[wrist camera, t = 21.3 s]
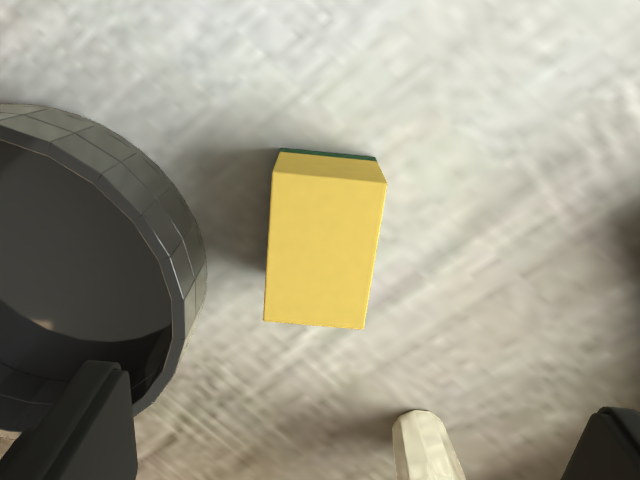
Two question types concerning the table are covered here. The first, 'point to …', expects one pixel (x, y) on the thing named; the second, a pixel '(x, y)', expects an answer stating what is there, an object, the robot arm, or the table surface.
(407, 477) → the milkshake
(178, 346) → the pan
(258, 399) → the table surface
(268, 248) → the sponge
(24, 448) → the robot arm
